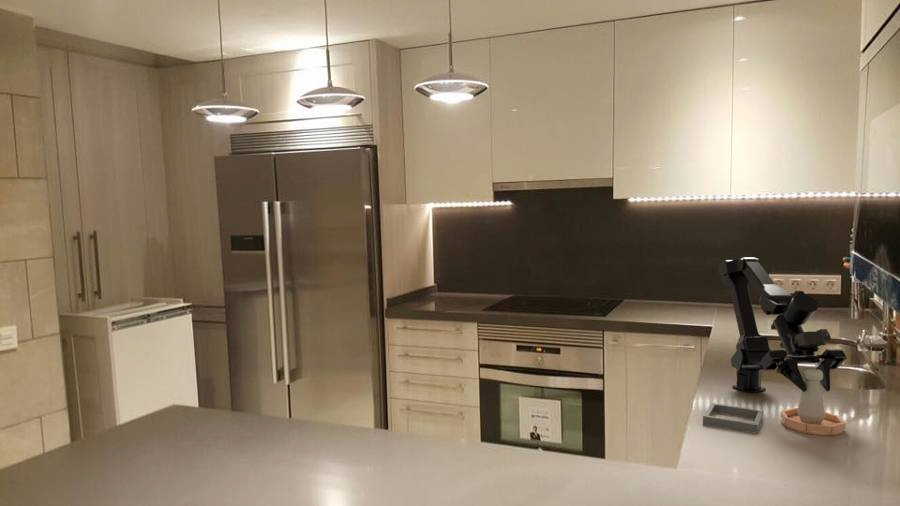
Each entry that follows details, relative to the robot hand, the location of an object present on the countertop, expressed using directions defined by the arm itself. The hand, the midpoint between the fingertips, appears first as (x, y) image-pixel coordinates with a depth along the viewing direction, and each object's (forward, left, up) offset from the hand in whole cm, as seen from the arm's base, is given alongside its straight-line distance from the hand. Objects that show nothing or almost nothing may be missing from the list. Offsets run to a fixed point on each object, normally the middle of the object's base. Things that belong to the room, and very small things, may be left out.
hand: (816, 390), depth 149 cm
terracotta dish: (-1, -1, -9) cm, 9 cm away
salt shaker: (-1, -1, -8) cm, 9 cm away
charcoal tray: (+13, -12, -9) cm, 20 cm away
